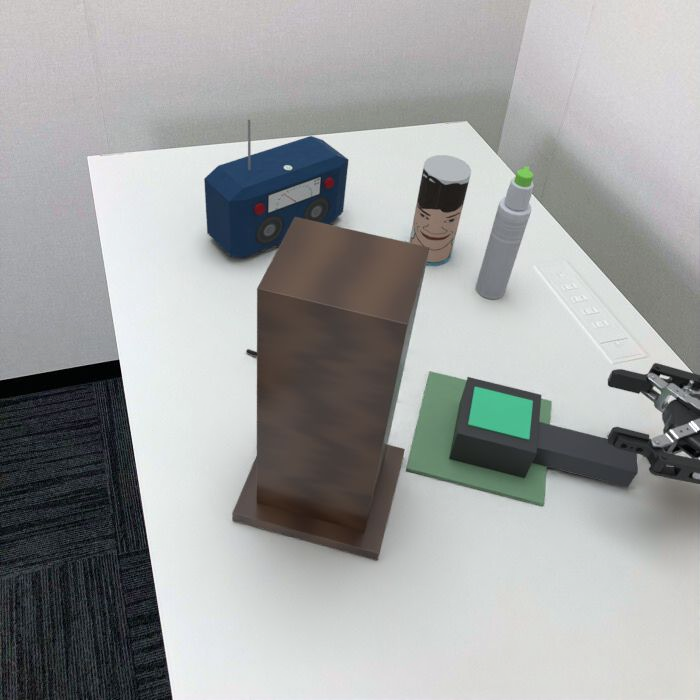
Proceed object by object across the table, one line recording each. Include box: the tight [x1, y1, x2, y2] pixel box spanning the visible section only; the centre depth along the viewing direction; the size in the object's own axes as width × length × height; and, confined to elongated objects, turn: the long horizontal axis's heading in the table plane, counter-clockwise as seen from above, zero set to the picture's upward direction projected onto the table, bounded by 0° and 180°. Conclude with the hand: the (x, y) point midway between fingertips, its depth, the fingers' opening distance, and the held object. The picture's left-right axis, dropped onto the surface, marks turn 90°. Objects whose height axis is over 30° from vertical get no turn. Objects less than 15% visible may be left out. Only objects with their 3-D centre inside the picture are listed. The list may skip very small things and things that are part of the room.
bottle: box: [475, 165, 534, 300], centre depth 102 cm, size 4×4×20 cm
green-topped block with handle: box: [449, 376, 639, 488], centre depth 87 cm, size 21×9×5 cm, turn 76°
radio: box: [203, 118, 349, 259], centre depth 107 cm, size 21×9×20 cm, turn 129°
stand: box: [231, 217, 430, 561], centre depth 71 cm, size 16×14×32 cm
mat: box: [405, 370, 553, 507], centre depth 90 cm, size 16×16×1 cm
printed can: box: [408, 154, 472, 267], centre depth 109 cm, size 7×7×15 cm
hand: (609, 405), depth 80 cm, fingers open, 8 cm apart
